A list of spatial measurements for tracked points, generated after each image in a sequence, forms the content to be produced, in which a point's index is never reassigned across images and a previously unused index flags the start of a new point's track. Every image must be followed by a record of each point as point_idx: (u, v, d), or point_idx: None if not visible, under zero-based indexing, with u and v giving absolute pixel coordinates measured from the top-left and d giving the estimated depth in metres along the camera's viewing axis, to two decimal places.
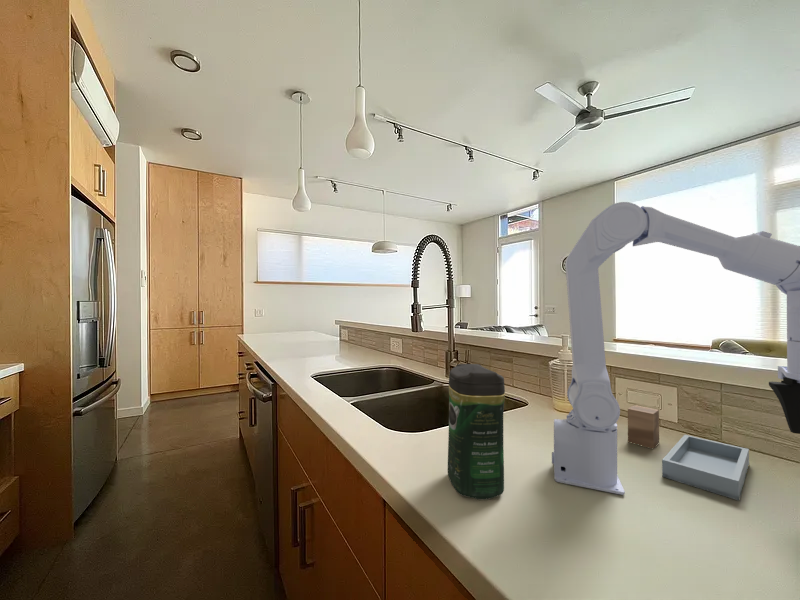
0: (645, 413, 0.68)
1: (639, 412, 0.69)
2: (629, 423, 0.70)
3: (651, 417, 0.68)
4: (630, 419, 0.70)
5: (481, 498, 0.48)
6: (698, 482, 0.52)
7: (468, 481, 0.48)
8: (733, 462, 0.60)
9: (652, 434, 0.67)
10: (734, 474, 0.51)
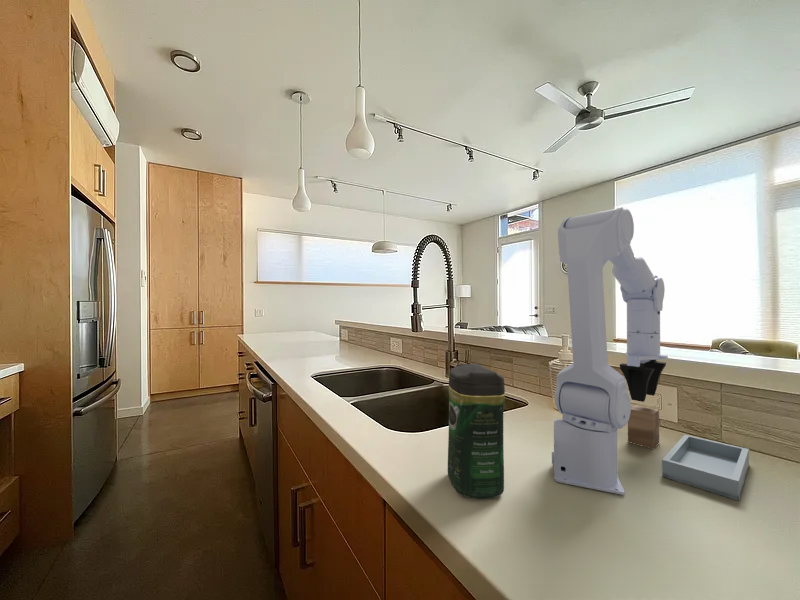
0: (645, 413, 0.68)
1: (639, 412, 0.69)
2: (629, 423, 0.70)
3: (651, 417, 0.68)
4: (630, 419, 0.70)
5: (481, 498, 0.48)
6: (698, 482, 0.52)
7: (468, 481, 0.48)
8: (733, 462, 0.60)
9: (652, 434, 0.67)
10: (734, 474, 0.51)
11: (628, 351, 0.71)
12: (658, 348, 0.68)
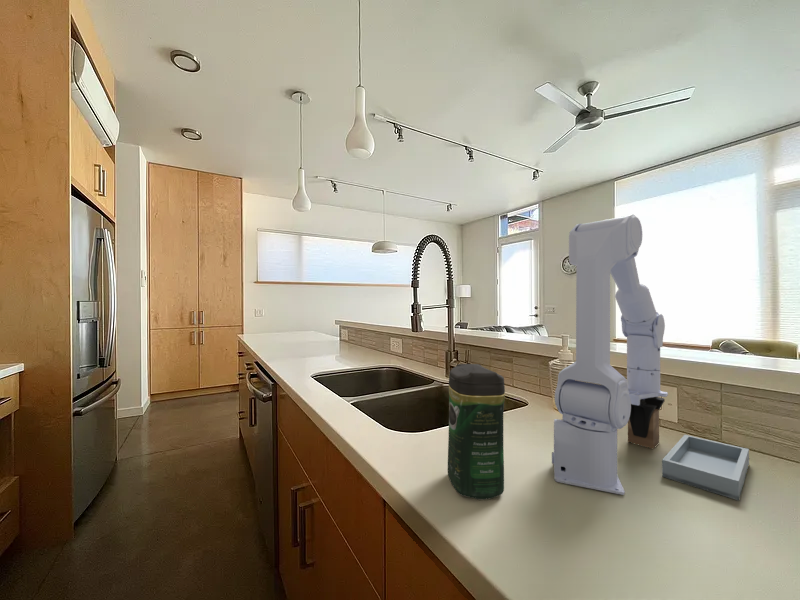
0: None
1: None
2: (629, 423, 0.70)
3: (651, 417, 0.68)
4: None
5: (481, 498, 0.48)
6: (698, 482, 0.52)
7: (468, 481, 0.48)
8: (733, 462, 0.60)
9: (652, 434, 0.67)
10: (734, 474, 0.51)
11: (628, 387, 0.71)
12: (658, 385, 0.68)
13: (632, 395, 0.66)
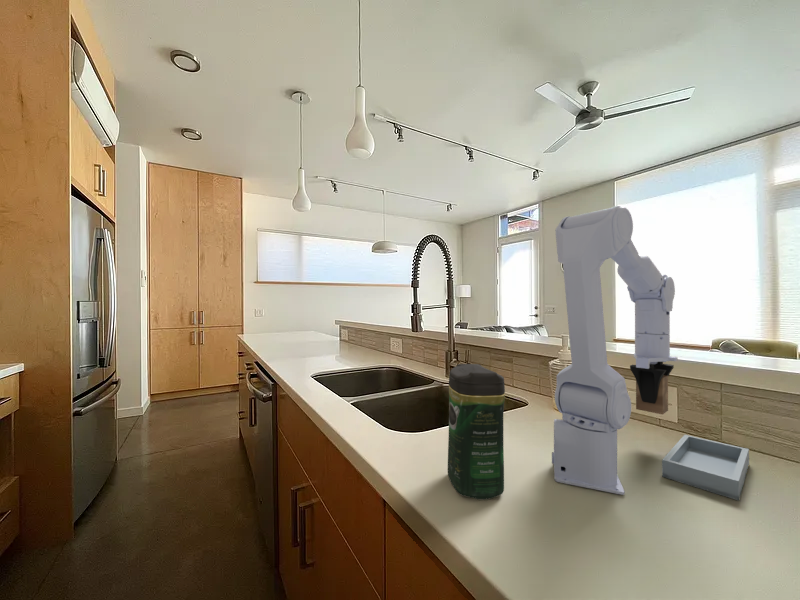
0: None
1: None
2: (637, 389, 0.69)
3: (660, 382, 0.66)
4: None
5: (481, 498, 0.48)
6: (698, 482, 0.52)
7: (468, 481, 0.48)
8: (733, 462, 0.60)
9: (661, 399, 0.66)
10: (734, 474, 0.51)
11: (636, 353, 0.69)
12: (668, 349, 0.66)
13: (641, 358, 0.64)
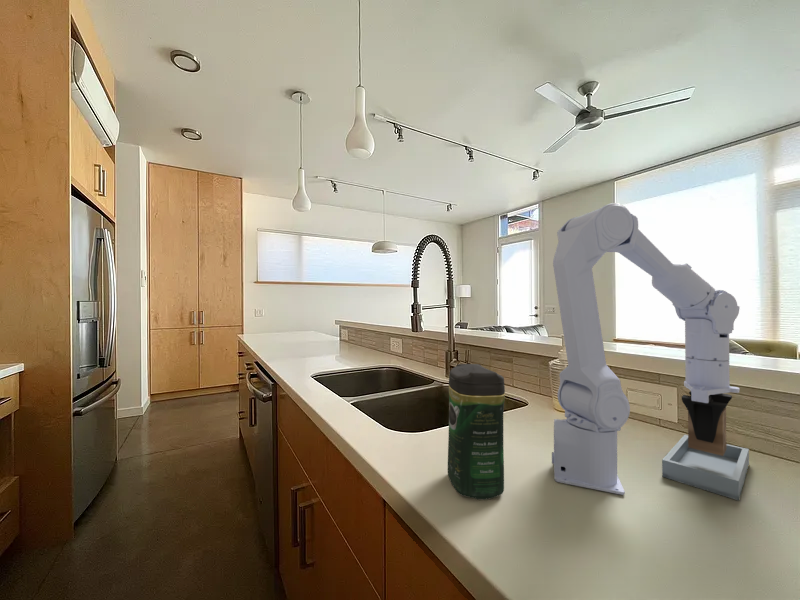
0: None
1: None
2: (690, 424, 0.59)
3: (720, 417, 0.56)
4: None
5: (481, 498, 0.48)
6: (698, 482, 0.52)
7: (468, 481, 0.48)
8: (733, 462, 0.60)
9: (721, 438, 0.56)
10: (734, 474, 0.51)
11: (688, 381, 0.59)
12: (728, 379, 0.56)
13: (699, 391, 0.54)
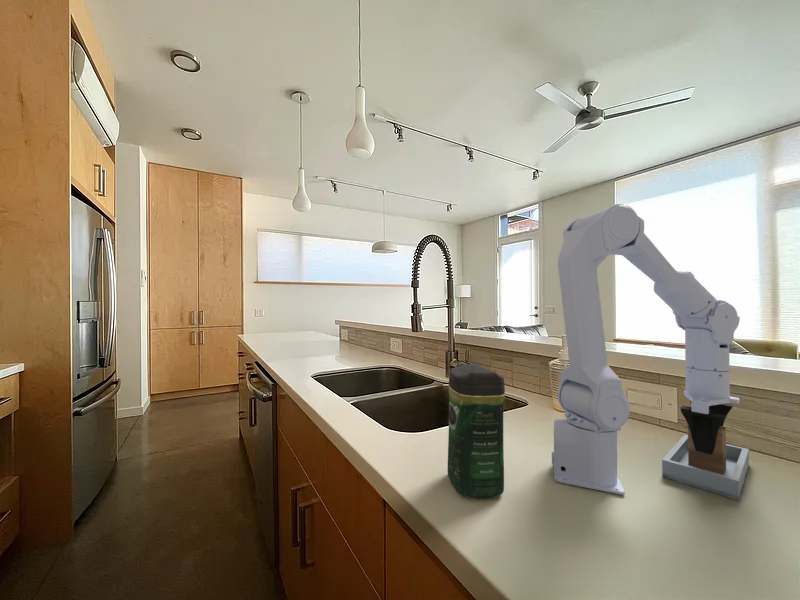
0: None
1: None
2: (690, 443, 0.58)
3: (720, 437, 0.56)
4: None
5: (481, 498, 0.48)
6: (698, 482, 0.52)
7: (468, 481, 0.48)
8: (733, 462, 0.60)
9: (721, 458, 0.55)
10: (734, 474, 0.51)
11: (688, 391, 0.59)
12: (728, 389, 0.56)
13: (699, 401, 0.54)
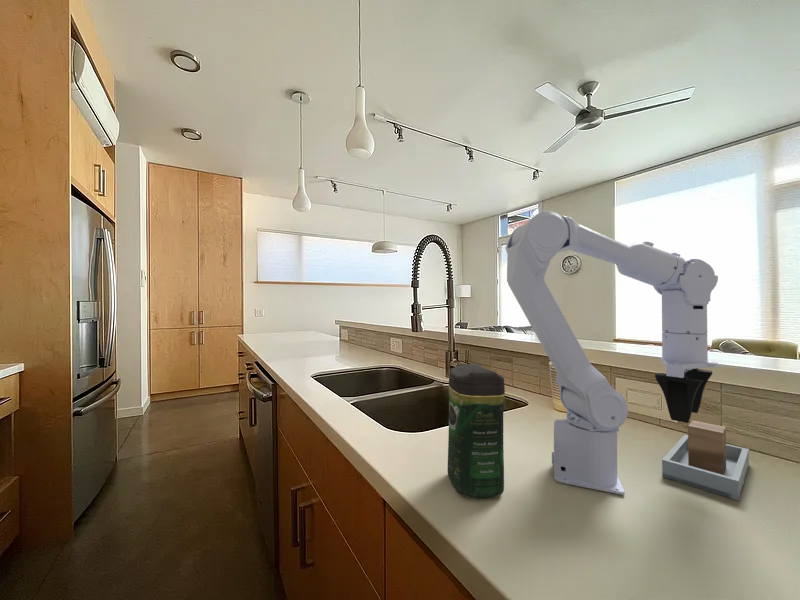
0: (712, 432, 0.56)
1: (703, 430, 0.57)
2: (690, 443, 0.58)
3: (720, 437, 0.56)
4: (692, 438, 0.58)
5: (481, 498, 0.48)
6: (698, 482, 0.52)
7: (468, 481, 0.48)
8: (733, 462, 0.60)
9: (721, 457, 0.55)
10: (734, 474, 0.51)
11: (664, 357, 0.56)
12: (705, 353, 0.53)
13: (673, 365, 0.51)
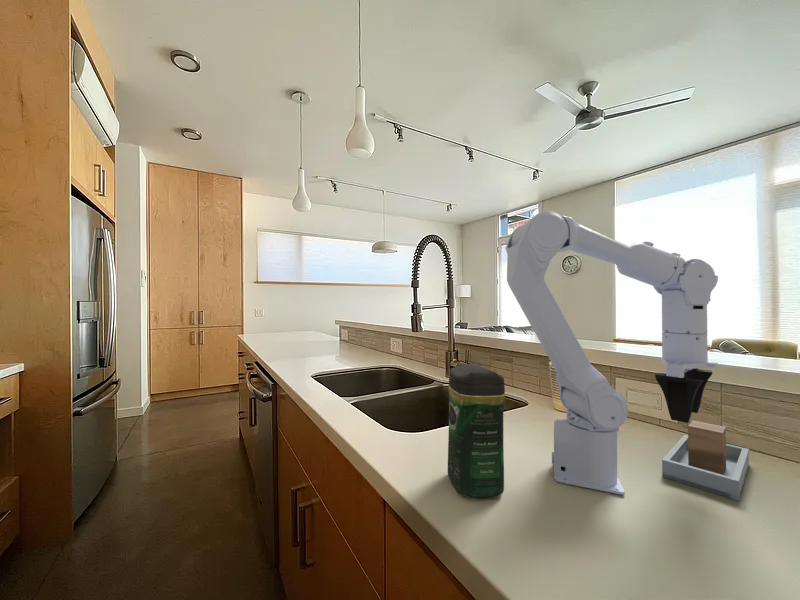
0: (712, 432, 0.56)
1: (703, 430, 0.57)
2: (690, 443, 0.58)
3: (720, 437, 0.56)
4: (692, 438, 0.58)
5: (481, 498, 0.48)
6: (698, 482, 0.52)
7: (468, 481, 0.48)
8: (733, 462, 0.60)
9: (721, 457, 0.55)
10: (734, 474, 0.51)
11: (664, 357, 0.56)
12: (705, 353, 0.53)
13: (673, 365, 0.51)
